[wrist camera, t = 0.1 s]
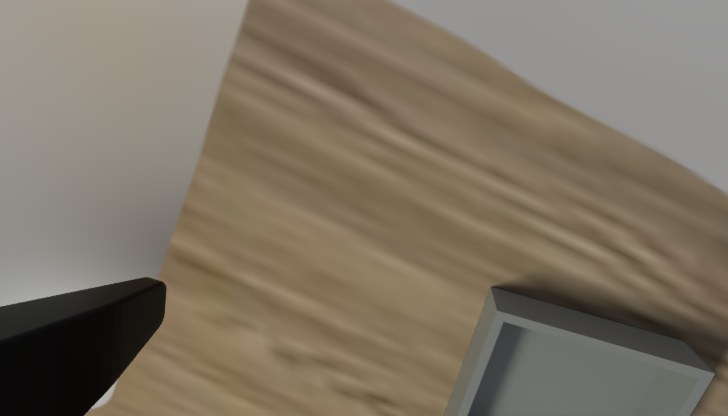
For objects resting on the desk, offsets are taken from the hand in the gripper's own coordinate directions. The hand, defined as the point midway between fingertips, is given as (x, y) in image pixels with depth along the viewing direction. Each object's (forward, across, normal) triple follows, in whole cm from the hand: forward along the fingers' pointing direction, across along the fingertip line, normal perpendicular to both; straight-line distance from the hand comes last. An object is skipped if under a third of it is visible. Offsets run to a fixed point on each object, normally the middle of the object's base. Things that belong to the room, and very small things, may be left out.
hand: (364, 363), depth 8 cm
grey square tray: (+15, -11, +9) cm, 21 cm away
